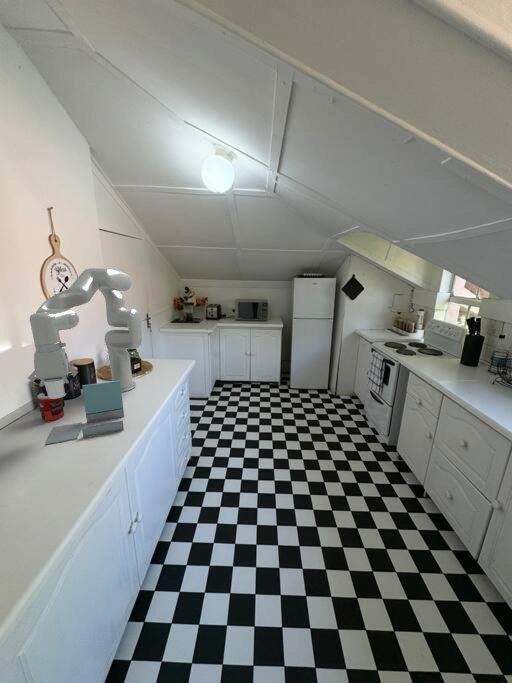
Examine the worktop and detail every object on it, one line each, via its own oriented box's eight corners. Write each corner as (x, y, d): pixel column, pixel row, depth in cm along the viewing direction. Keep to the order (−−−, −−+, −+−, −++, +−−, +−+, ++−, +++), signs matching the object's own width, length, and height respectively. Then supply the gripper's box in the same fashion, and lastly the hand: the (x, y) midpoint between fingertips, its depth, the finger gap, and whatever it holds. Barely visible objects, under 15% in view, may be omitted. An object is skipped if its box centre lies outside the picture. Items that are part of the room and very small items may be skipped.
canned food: (45, 414, 125) (40, 391, 122) (66, 411, 127) (62, 388, 124) (39, 423, 118) (34, 399, 115) (62, 420, 120) (57, 396, 118)
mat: (53, 428, 114) (53, 427, 114) (82, 423, 118) (81, 422, 118) (45, 445, 104) (45, 444, 104) (77, 439, 108) (77, 437, 107)
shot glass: (57, 400, 103) (54, 382, 101) (41, 398, 104) (38, 380, 102) (72, 392, 109) (70, 375, 107) (57, 390, 110) (54, 373, 109)
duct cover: (86, 414, 117) (86, 413, 118) (123, 408, 123) (123, 407, 124) (82, 385, 116) (82, 385, 117) (120, 380, 122) (120, 380, 122)
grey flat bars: (87, 422, 119) (86, 414, 118) (124, 415, 124) (123, 407, 123) (83, 437, 108) (81, 429, 107) (123, 430, 114) (122, 421, 113)
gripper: (78, 342, 108) (85, 386, 113) (22, 346, 102) (32, 393, 107) (74, 347, 102) (82, 393, 106) (15, 352, 95) (25, 401, 100)
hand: (57, 393), depth 106 cm, fingers closed on shot glass, 5 cm apart
